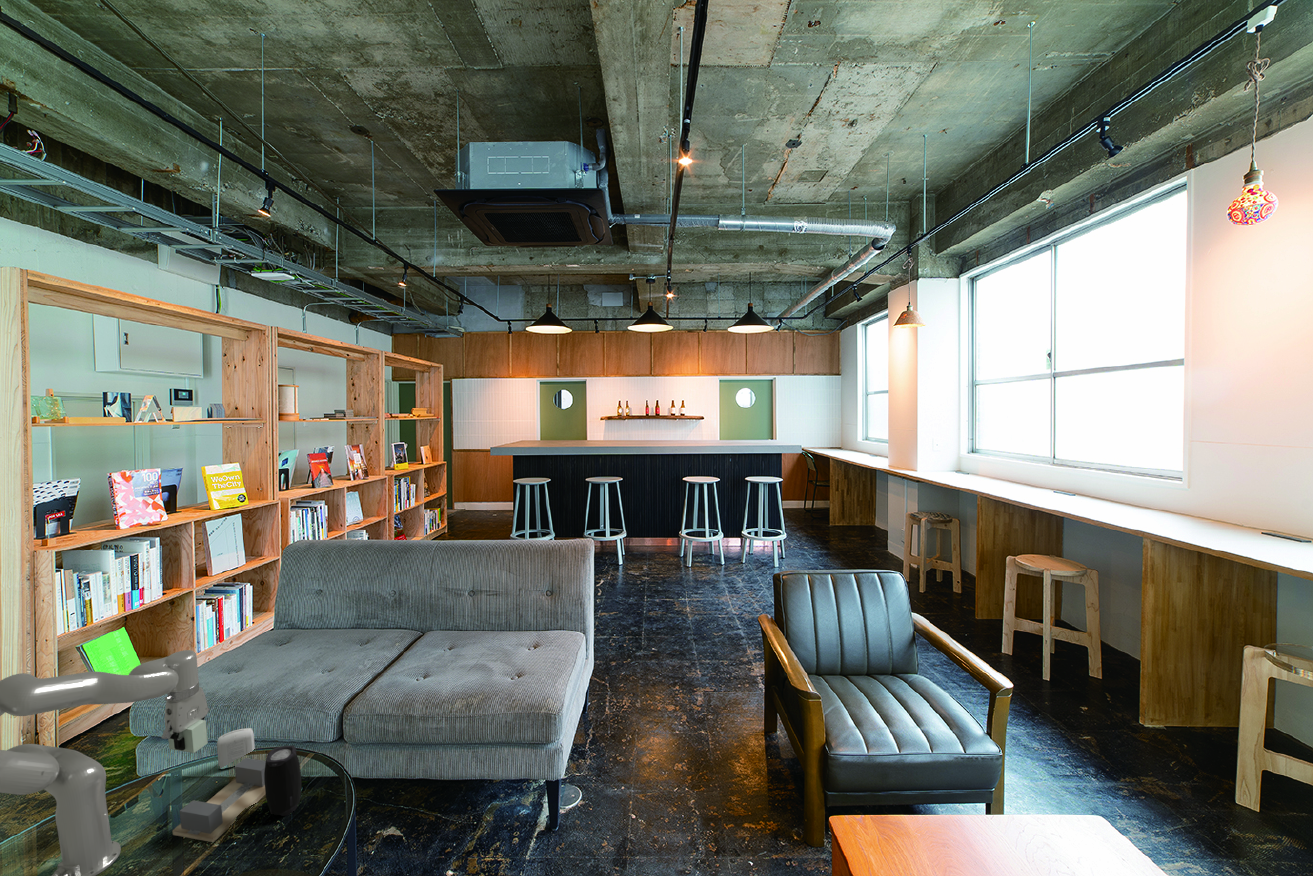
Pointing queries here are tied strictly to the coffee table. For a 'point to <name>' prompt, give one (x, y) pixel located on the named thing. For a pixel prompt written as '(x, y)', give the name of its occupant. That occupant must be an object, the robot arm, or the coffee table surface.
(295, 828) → the coffee table surface
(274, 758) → the portable speaker
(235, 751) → the photo printer
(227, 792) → the rail board
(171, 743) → the block
